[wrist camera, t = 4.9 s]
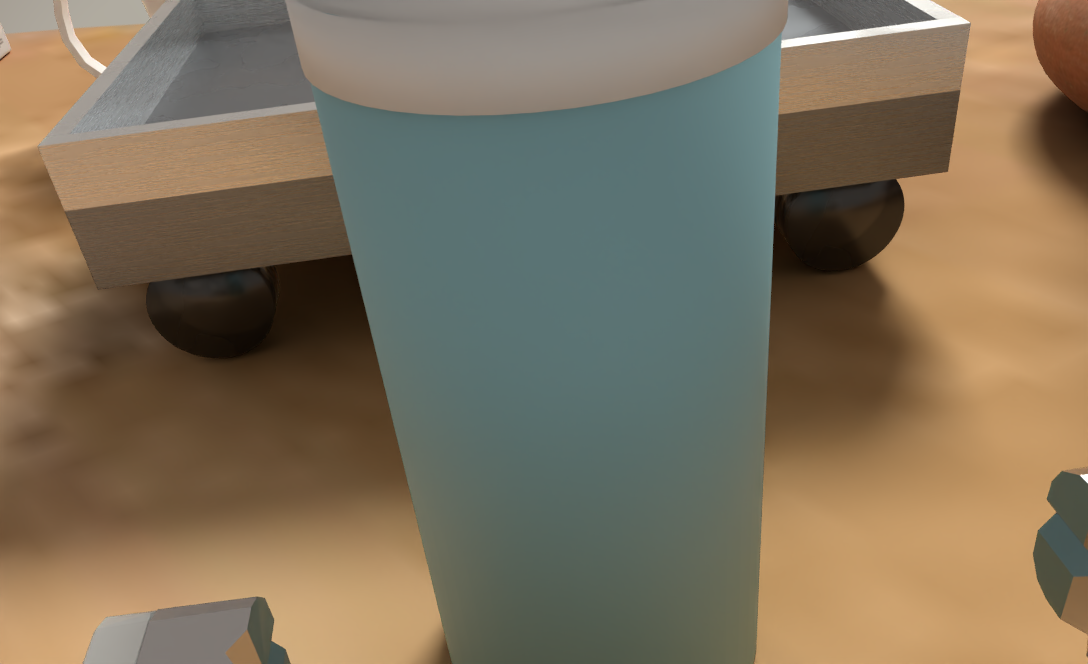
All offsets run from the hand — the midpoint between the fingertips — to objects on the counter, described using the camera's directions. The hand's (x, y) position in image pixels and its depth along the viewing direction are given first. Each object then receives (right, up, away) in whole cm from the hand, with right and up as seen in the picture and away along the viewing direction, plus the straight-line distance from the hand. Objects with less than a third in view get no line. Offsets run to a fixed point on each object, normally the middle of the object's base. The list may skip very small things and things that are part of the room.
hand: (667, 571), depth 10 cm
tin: (0, -3, +6) cm, 7 cm away
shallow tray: (-2, +6, +20) cm, 21 cm away
